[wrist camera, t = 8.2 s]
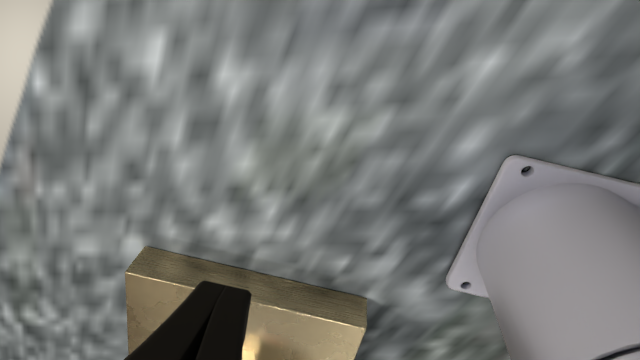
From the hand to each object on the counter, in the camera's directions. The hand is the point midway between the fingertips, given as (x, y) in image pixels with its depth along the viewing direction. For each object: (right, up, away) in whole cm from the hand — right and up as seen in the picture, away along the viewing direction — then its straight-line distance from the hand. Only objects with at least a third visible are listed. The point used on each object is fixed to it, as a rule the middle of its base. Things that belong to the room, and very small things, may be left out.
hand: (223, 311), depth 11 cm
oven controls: (-2, -6, +15) cm, 16 cm away
